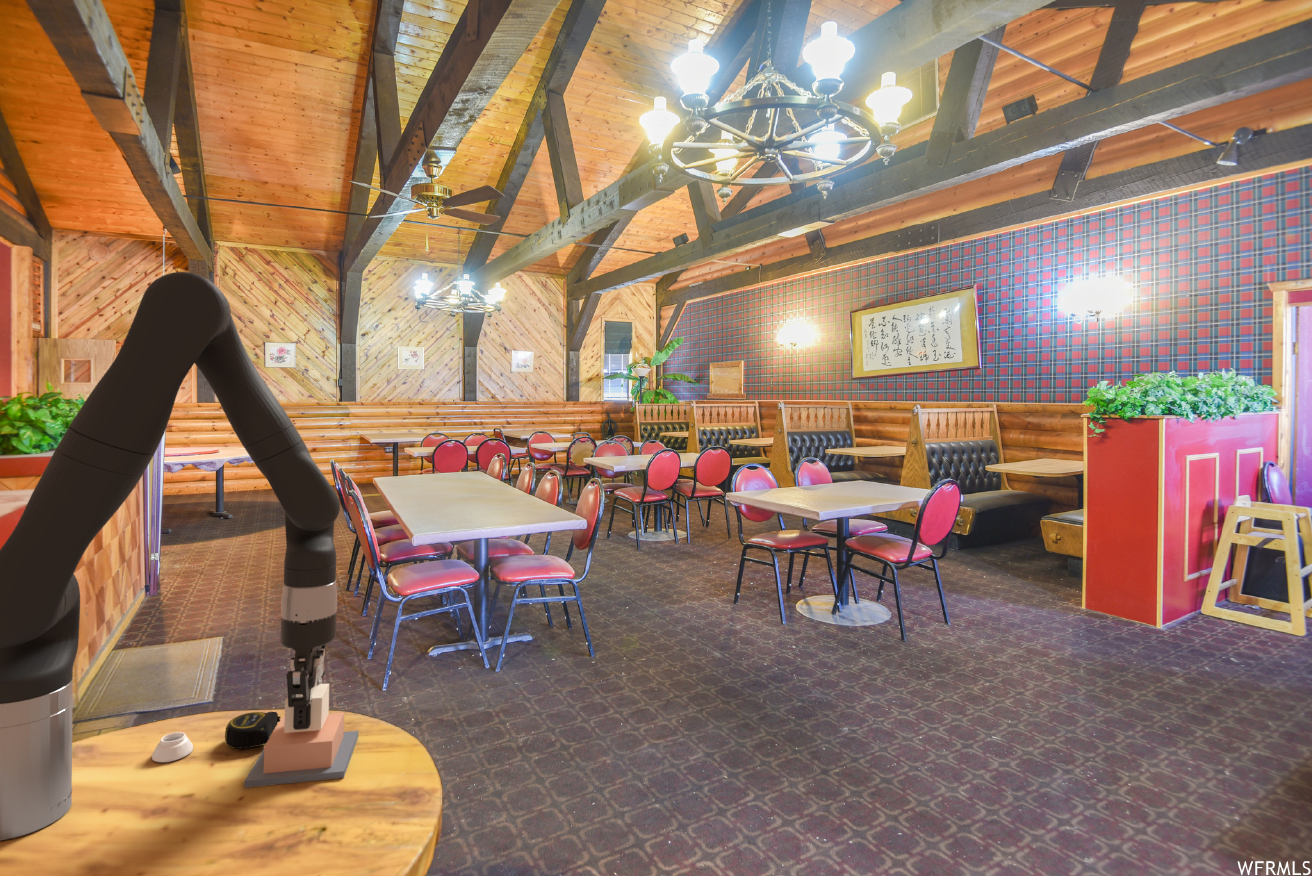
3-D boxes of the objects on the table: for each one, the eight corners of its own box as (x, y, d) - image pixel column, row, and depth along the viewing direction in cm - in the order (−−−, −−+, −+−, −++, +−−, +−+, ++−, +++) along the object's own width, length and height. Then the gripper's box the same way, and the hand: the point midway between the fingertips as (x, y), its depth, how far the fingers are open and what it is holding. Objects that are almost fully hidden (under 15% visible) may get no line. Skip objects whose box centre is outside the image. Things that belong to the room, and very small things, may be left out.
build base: (244, 787, 91) (244, 753, 90) (270, 743, 102) (271, 713, 102) (343, 777, 94) (344, 745, 94) (358, 736, 106) (359, 707, 105)
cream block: (284, 733, 95) (284, 700, 95) (293, 716, 100) (294, 685, 99) (321, 730, 96) (322, 697, 96) (328, 714, 101) (329, 683, 101)
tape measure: (267, 751, 100) (267, 728, 100) (217, 755, 98) (218, 732, 98) (280, 730, 107) (281, 708, 107) (234, 733, 105) (234, 711, 105)
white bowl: (198, 745, 101) (162, 748, 100) (199, 727, 101) (162, 729, 100) (183, 763, 96) (145, 766, 95) (183, 744, 96) (145, 746, 95)
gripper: (295, 597, 103) (292, 700, 104) (266, 628, 89) (264, 746, 90) (345, 596, 105) (342, 696, 106) (325, 625, 91) (322, 741, 92)
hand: (306, 719), depth 98 cm, fingers closed on cream block, 4 cm apart
